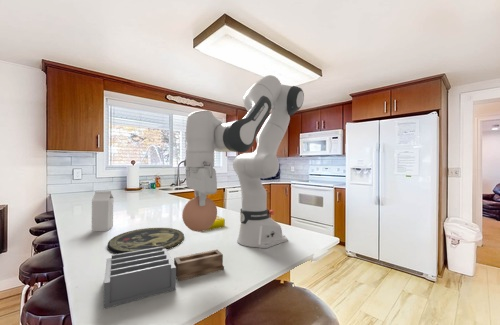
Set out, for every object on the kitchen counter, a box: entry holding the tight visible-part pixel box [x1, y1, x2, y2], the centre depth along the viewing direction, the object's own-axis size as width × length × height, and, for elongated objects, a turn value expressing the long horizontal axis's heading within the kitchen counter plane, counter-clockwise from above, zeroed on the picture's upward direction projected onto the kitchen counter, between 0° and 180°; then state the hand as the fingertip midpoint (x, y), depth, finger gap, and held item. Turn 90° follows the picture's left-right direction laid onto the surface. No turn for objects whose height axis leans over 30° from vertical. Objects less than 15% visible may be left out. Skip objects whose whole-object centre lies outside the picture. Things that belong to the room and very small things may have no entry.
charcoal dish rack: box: [103, 247, 177, 309], centre depth 63 cm, size 16×15×7 cm
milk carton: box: [91, 190, 114, 232], centre depth 112 cm, size 7×7×19 cm
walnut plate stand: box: [173, 249, 225, 282], centre depth 72 cm, size 14×7×4 cm, turn 120°
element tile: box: [203, 215, 226, 232], centre depth 122 cm, size 15×15×5 cm
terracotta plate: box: [181, 196, 218, 233], centre depth 72 cm, size 11×1×11 cm, turn 120°
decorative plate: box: [106, 227, 185, 255], centre depth 97 cm, size 30×2×30 cm
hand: (200, 204), depth 72 cm, fingers closed on terracotta plate, 1 cm apart
